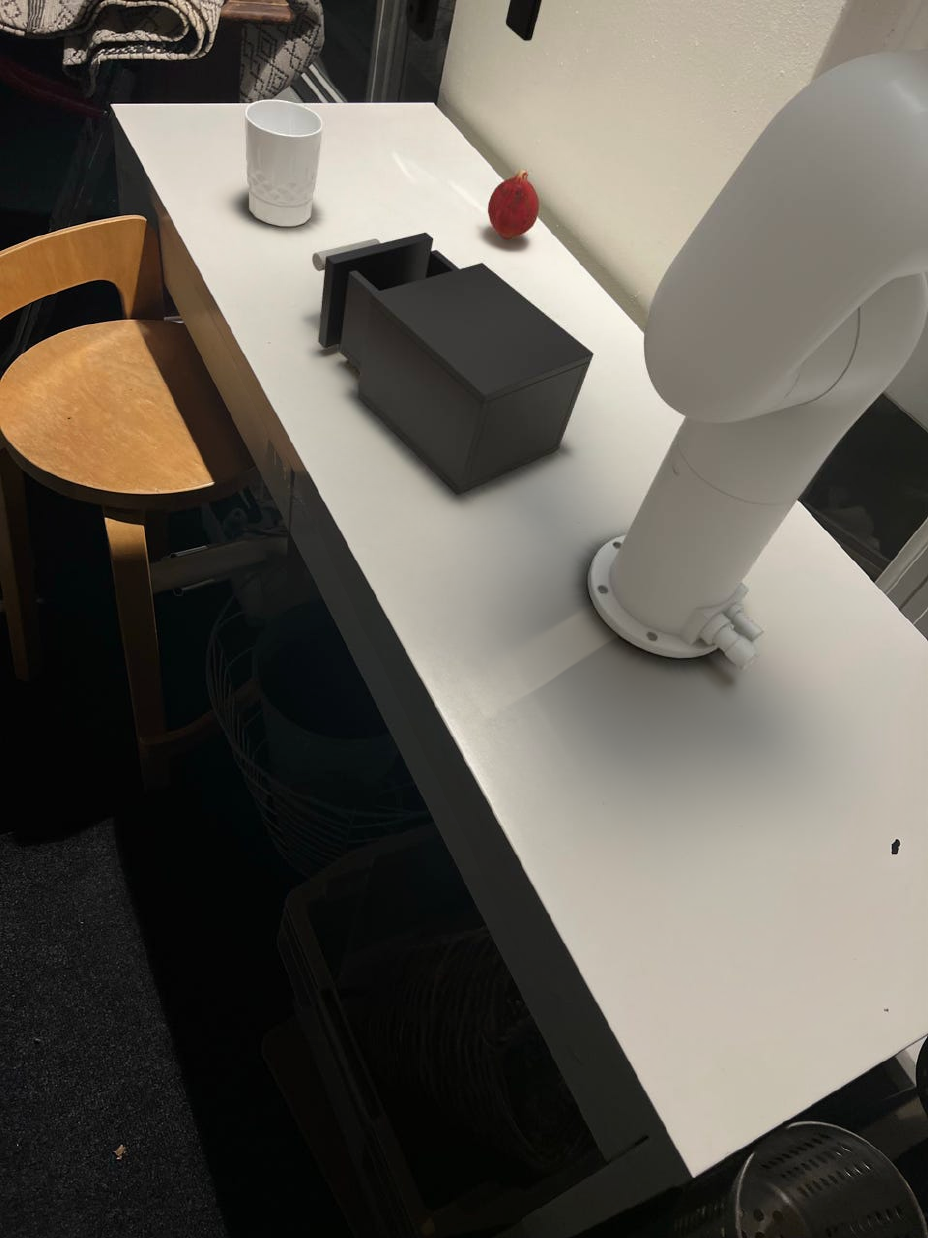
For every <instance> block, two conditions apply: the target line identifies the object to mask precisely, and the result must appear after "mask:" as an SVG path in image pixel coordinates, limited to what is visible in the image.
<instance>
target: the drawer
mask: <svg viewBox="0 0 928 1238" xmlns="http://www.w3.org/2000/svg"><path fill="white" fill-rule="evenodd" d="M433 244H434V238H433V237H432V236H431V235H430V234H429V233H428V232H421V233H418V234H414V235H413V234H412V235H409V236H405V237H401V238H397V239H396V238H395V239H392V240H388V241H384V242H380V240H379V239H377V238H372V239H368V240H364V241H359V242H355V243H351V244H346V245H341V246H338V247H334V248H329V249H326V250H321V251H317V252H313V254H312V257H311V261H312V266H313V267H314V269H315V270H316V271H318V272H322V271H324V272H323V273H324V274H323V275H324V276H323V283H322V284H323V285H322V293H321V295H322V296H321V305H320V316H319V328H318V338H317V342H318V344H319V345H321V346H322V348H323V349H324V350H326V349H330V348H332V347H336V346H340V349H339V353H340V354H341V355H342V356H343V357H344V358H345V359H346V360H347V361H348V362H349V363H350V364H351V365H352V366H353V367H355V369H357V370H358V372H360V371H361V363H362V356H363V349H364V342H365V334H366V327H367V320H368V313H369V305H370V299H371V294H372V293H375V292H379V291H382V290H386V289H389V288H393V287H397V286H400V285H404V284H408V283H411V282H415V281H418V280H422V279H426V278H429V277H433V276H436V275H440V274H444V273H447V272H451V271H454V270H458V269H460V268H459V267H458V266H457V265H456V264H454V262H452V261H451V260H449V259H448V258H447V256H445V255H443V253H441V252H440V251H439V250H438V249H435V250H432V249H433Z"/></svg>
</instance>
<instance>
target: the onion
mask: <svg viewBox="0 0 928 1238" xmlns="http://www.w3.org/2000/svg"><path fill="white" fill-rule="evenodd" d="M528 177H529V173H528V172H527V170H526V169H521V170H518V172H517V174H515V176H514V177H510V178H507V179H505V180H503V181H501V182H500V183H499V184H498V185H497V186H496V187H495V188H494V190H493V192H492V193H491V195H490V199H489V201H488V204H487V205H488V206H487V215H488V217H489V223H490V224H491V226H492V228H493V229H494V230H495V232H496V233H497V234H498V235H499V236H500V237H501V238H502V239H504V240H511V239H514V238H517V237H520V236H522V235H524V234H526V233H527V232H529V231H530V230H531V229H532V228H533V227H534V225H535V223H536V221H537V219H538V215H539V209H540V201H539V196H538V194H537V192H536V189H535V187H534V186H533V184H532V183H531V182H530V181H529V180H528Z"/></svg>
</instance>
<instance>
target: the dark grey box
mask: <svg viewBox="0 0 928 1238" xmlns="http://www.w3.org/2000/svg"><path fill="white" fill-rule="evenodd" d="M593 357H594V352H593V351H591V350H590V349H589V348H587V347H586V346H585V345H584V344H583V343H582V342H580V341H579V340H578V339H577V338H576V337H574V336H573V335H572V334H571V333H569V332H568V331H567V330H566V329H565V328H563V327H562V326H561V325H559V324H558V323H557V322H556V321H554V320H553V319H552V318H551V317H550V316H548V314H546V313H545V312H544V311H542V310H541V309H540V308H538V307H537V306H536V305H535V304H534V303H533V302H531V301H530V300H529V299H527V298H526V296H524V295H522V293H520V292H519V291H518V290H516V289H515V288H514V287H513V286H512V285H510V284H509V283H508V282H507V281H505V280H504V279H503V278H502V277H500V275H498V274H497V273H495V271H493V270H492V269H491V268H489V267H488V266H487V265H486V264H485V263H483V262H480V263H476V264H472V265H469V266H466V267H462V268H459V269H458V270H454V271H451V272H447V273H444V274H440V275H436V276H433V277H429V278H426V279H422V280H418V281H415V282H411V283H408V284H404V285H400V286H397V287H393V288H389V289H386V290H382V291H379V292H375V293H372V294H371V299H370V305H369V313H368V320H367V327H366V334H365V342H364V349H363V356H362V363H361V371H359V378H358V386H357V395H356V396H357V397H358V399H360V400H361V401H362V402H363V403H364V405H366V406H367V407H368V408H369V409H370V410H371V411H372V412H373V413H374V414H375V415H376V416H377V417H378V418H379V419H380V420H381V421H382V422H383V423H384V424H385V425H386V426H387V427H388V428H389V429H390V430H392V432H394V433H395V434H396V435H397V436H398V437H399V438H400V440H402V441H403V443H405V444H406V445H407V446H408V447H409V448H410V449H411V450H412V451H413V452H414V453H415V454H416V455H417V456H418V457H419V458H420V459H421V460H422V461H423V462H424V463H425V464H426V465H427V466H428V467H429V468H430V469H431V470H432V471H433V472H434V473H435V474H436V475H437V476H439V478H441V479H442V480H443V482H444V483H446V485H448V487H449V488H451V489H452V490H453V492H455V493H456V494H457V495H459V494H462V493H463V492H466V491H468V490H471V489H473V488H475V487H478V486H479V485H482V484H484V483H486V482H488V481H490V480H493V479H495V478H497V477H500V476H501V475H504V474H506V473H508V472H510V471H513V470H515V469H517V468H520V467H521V466H523V465H526V464H529V463H531V462H533V461H535V460H537V459H539V458H541V457H544V456H545V455H548V454H550V453H552V452H554V451H557V450H559V449H560V446H561V443H562V441H563V438H564V436H565V432H566V430H567V427H568V425H569V422H570V419H571V417H572V413H573V411H574V408H575V405H576V402H577V400H578V398H579V396H580V392H581V390H582V387H583V385H584V381H585V379H586V376H587V373H588V371H589V368H590V365H591V362H592V360H593Z"/></svg>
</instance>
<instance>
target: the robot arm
mask: <svg viewBox="0 0 928 1238" xmlns="http://www.w3.org/2000/svg"><path fill="white" fill-rule="evenodd" d="M542 2H543V0H509V5H508V9H507V13H506V19H505V25H506V26H507V27H508V28H509V30H511V31H512V32H513V33H514V34H515V35H517V36H518V38H520V39H521V40H522V41H524V42H531V41H532V40H533V37H534V33H535V29H536V24H537V21H538V18H539V13H540V10H541V7H542ZM439 5H440V0H406V5H405V6H406V7H405V18H406V20H405V21H406V22H405V23H406V26H407V28H408V29H409V30H410V31H412V32H413V33H414V35H416V36H417V37H418V38H419V39H420V40H421V41H422V42H431V41H432V40H433V39H434V35H435V30H436V29H435V28H436V24H437V17H438V11H439ZM927 272H928V49H913V50H912V49H911V50H905V49H903V50H890V51H881V52H876V53H871V54H867V55H862V56H859V57H856V58H853V59H850V60H847V61H845V62H843V63H840V64H838V65H837V66H835V67H833V68H830V69H829V70H827V71H825V72H824V73H822V74H821V75H819V76H818V77H817V78H815V79H814V80H813V81H810V82H809V84H807V85H805V87H803V88H802V89H801V90H799V91H798V92H797V93H796V94H795V95H794V96H793V97H792V98H790V99H789V101H787V103H785V104H784V106H783V107H782V108H780V110H779V111H777V112H776V114H775V115H774V116H773V118H772V119H771V120H770V121H769V123H768V124H767V125H766V126H765V128H764V129H763V130H762V132H761V133H760V134H759V136H758V137H757V139H756V140H755V141H754V143H753V144H752V145H751V147H750V148H749V150H748V151H747V153H746V154H745V155H744V157H743V158H742V160H741V161H740V163H739V164H738V166H737V167H736V168H735V170H734V171H733V173H732V174H731V176H730V178H729V179H728V180H727V181H726V183H725V184H724V186H723V187H722V189H721V191H720V192H719V193H718V195H717V196H716V197H715V199H714V200H713V202H712V203H711V204H710V206H709V208H708V209H707V211H706V212H705V213H704V215H703V216H702V218H701V219H700V220H699V222H698V223H697V225H696V226H695V228H694V229H693V231H692V232H691V233H690V234H689V236H688V238H687V239H686V241H685V242H684V244H683V245H682V246H681V248H680V250H679V251H678V252H677V254H676V255H675V257H674V258H673V260H672V261H671V263H670V265H669V266H668V268H667V269H666V271H665V273H664V275H663V276H662V278H661V280H660V282H659V283H658V286H657V288H656V290H655V292H654V295H653V297H652V300H651V302H650V305H649V308H648V311H647V316H646V320H645V326H644V333H643V356H644V357H643V358H644V364H645V368H646V371H647V375H648V378H649V380H650V383H651V385H652V387H653V388H654V390H655V392H656V393H657V395H658V396H659V397H660V399H662V401H663V402H664V403H665V404H666V405H667V406H668V407H670V408H671V409H673V410H674V411H675V412H677V413H678V414H680V415H682V416H684V418H683V420H682V422H681V424H680V426H679V428H678V429H677V432H676V433H675V435H674V437H673V439H672V441H671V444H670V446H669V448H668V450H667V451H666V454H665V455H664V458H663V460H662V461H661V464H660V466H659V468H658V470H657V472H656V474H655V476H654V478H653V479H652V482H651V484H650V486H649V488H648V490H647V492H646V494H645V496H644V498H643V500H642V502H641V504H640V506H639V508H638V511H637V512H636V514H635V516H634V518H633V520H632V522H631V525H630V526H629V528H628V531H627V532H626V534H622V535H620V536H617V537H615V538H612V539H611V540H609V541H607V542H606V543H604V544H603V545H602V546H601V547H600V549H598V551H597V552H596V553H595V556H594V558H593V559H592V562H591V564H590V567H589V569H588V573H587V588H588V592H589V593H588V594H589V596H590V599H591V602H592V604H593V607H594V608H595V610H596V611H597V613H598V614H599V616H600V618H601V619H602V620H603V621H604V623H606V625H608V627H609V628H610V629H612V631H614V632H615V633H616V634H617V635H619V636H620V637H621V638H622V639H624V640H626V641H627V642H629V643H630V644H631V645H633V646H635V647H637V648H640V649H643V650H644V651H646V652H650V653H652V654H655V655H658V656H662V657H669V658H675V659H686V658H687V659H690V658H691V659H692V658H697V657H701V656H705V655H707V654H709V653H711V652H714V651H716V650H717V649H720V650H721V651H722V652H723V653H724V656H725V657H726V658H727V659H728V660H730V661H731V662H732V663H733V664H734V665H735V666H736V667H737V668H738V669H739V670H741V671H745V670H746V669H747V668H749V666H751V665H752V664H753V663H754V662H755V661H756V660H757V658H758V657H759V655H760V654H761V651H759V650H758V649H757V648H756V647H755V646H754V645H753V644H754V643H756V641H757V640H759V639H760V637H761V636H763V634H764V633H765V630H764V629H763V628H762V627H761V626H759V625H758V623H756V622H755V621H754V620H753V619H750V618H749V617H748V616H747V615H746V614H745V613H744V612H743V611H744V607H743V606H742V605H740V604H741V603H742V601H743V600H744V599H745V597H746V595H747V594H748V592H749V591H750V589H749V588H748V587H747V586H746V584H744V583H742V582H743V581H744V580H745V579H746V576H747V575H748V573H749V572H750V570H751V569H752V568H753V566H754V565H755V564H756V561H757V560H758V558H760V556H761V554H762V553H763V552H764V550H765V549H766V547H767V546H768V544H769V542H770V541H771V540H772V538H773V537H774V535H775V533H776V532H777V530H778V529H779V528H780V526H781V525H782V523H783V522H784V520H785V519H786V517H787V516H788V514H789V513H790V511H791V510H792V508H793V507H794V505H795V504H796V503H797V501H798V499H799V498H800V496H801V495H802V494H803V493H804V491H805V490H806V488H807V487H808V486H809V484H810V483H811V482H812V480H813V478H814V477H815V476H816V474H817V472H818V471H819V469H820V468H821V467H822V465H823V464H824V463H825V461H826V460H827V458H828V456H830V454H831V453H832V452H833V450H834V449H835V448H836V446H837V445H838V443H839V442H840V441H841V440H842V438H843V437H844V436H845V435H846V434H847V432H848V431H849V430H850V429H851V427H853V426H854V424H855V423H856V422H857V421H858V420H859V418H861V416H862V415H863V414H864V413H865V412H866V411H867V410H868V409H869V408H870V406H871V405H873V403H874V402H875V401H876V400H877V399H878V398H879V397H880V396H881V395H882V394H883V392H884V391H885V390H886V389H887V388H888V387H889V386H890V384H891V383H892V382H893V381H894V380H895V378H896V377H897V376H898V374H899V373H900V372H901V371H902V370H903V368H904V367H905V365H906V364H907V362H908V361H909V359H910V357H911V356H912V354H913V353H914V351H915V349H916V347H917V345H918V343H919V341H920V338H921V336H922V333H923V331H924V328H925V324H926V320H927V316H928V282H927V278H926V274H925V273H927ZM734 628H735V629H737V631H738V632H739V633H740V634H741V635H742V636H741V635H739V633H737V632H736V631H735V630H734Z"/></svg>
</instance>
